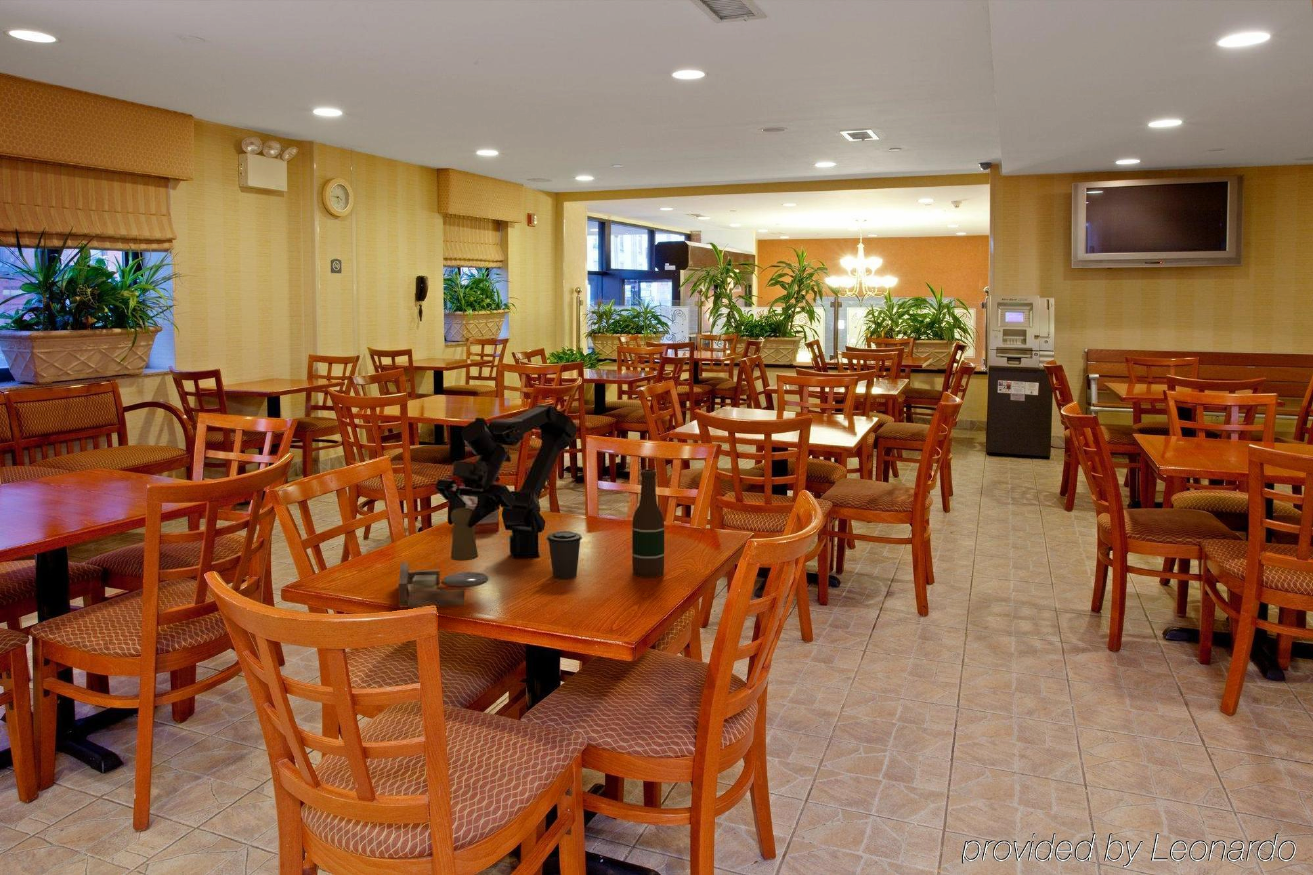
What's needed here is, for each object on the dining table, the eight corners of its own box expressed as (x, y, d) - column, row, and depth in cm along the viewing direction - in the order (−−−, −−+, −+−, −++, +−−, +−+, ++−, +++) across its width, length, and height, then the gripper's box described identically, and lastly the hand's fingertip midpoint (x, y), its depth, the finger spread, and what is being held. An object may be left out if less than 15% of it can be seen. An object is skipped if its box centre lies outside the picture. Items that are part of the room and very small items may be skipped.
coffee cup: (554, 582, 213) (554, 539, 211) (541, 573, 220) (541, 531, 218) (588, 578, 216) (588, 534, 215) (574, 568, 224) (574, 527, 222)
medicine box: (459, 522, 270) (458, 494, 269) (488, 520, 273) (487, 492, 272) (470, 534, 256) (469, 505, 255) (500, 532, 259) (499, 503, 258)
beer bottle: (669, 570, 223) (670, 468, 219) (658, 579, 216) (659, 474, 212) (638, 566, 225) (638, 466, 222) (626, 575, 218) (626, 472, 215)
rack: (461, 580, 214) (461, 558, 213) (464, 605, 197) (464, 580, 196) (401, 584, 211) (400, 561, 210) (399, 609, 194) (398, 584, 193)
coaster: (486, 572, 220) (486, 570, 220) (489, 585, 211) (489, 583, 211) (442, 575, 218) (442, 573, 218) (442, 588, 208) (442, 586, 208)
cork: (452, 553, 216) (450, 505, 214) (479, 552, 217) (477, 505, 215) (449, 561, 210) (446, 512, 208) (476, 560, 211) (474, 511, 209)
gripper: (437, 443, 217) (407, 501, 209) (505, 449, 209) (476, 510, 201) (461, 471, 225) (432, 527, 217) (527, 478, 217) (500, 537, 209)
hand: (459, 525), depth 211 cm, fingers closed on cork, 5 cm apart
